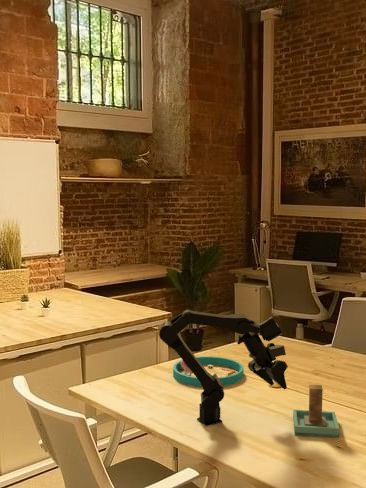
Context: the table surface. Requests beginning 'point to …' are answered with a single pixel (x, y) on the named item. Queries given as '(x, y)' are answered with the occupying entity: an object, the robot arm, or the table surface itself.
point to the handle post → (315, 407)
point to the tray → (315, 431)
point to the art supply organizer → (209, 360)
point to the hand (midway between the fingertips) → (279, 386)
